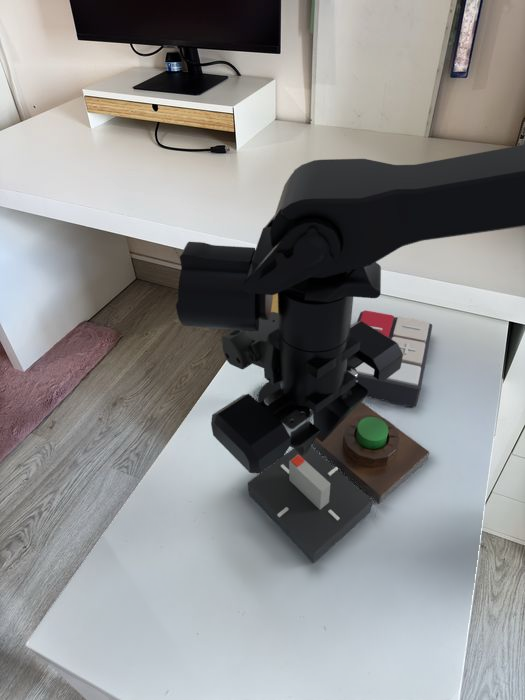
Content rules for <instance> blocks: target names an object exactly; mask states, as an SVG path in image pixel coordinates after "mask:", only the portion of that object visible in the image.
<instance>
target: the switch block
mask: <svg viewBox="0 0 525 700" xmlns="http://www.w3.org/2000/svg"><path fill="white" fill-rule="evenodd" d="M367 417H376V418H379V419H381V420H382V421H384V422H385V423H386V425H387V427H388V436H387V441H386V443H385V445H384V446H383V447H381V448H379V449H375V450H371V449H367V448H364V447H363V446H361V445H360V444H359V442H358V441H357V437H356V435H357V427H358V424H359V422H360V421H361V420H362V419H364V418H367ZM312 448H313V449H316V451H318V453H319V454H320V455H322V456H323V457H324V458H325V459H326V460H327V461H328V462H330V463H331V464H332V465H333V466H334V467H337V468H338V470H339V471H340V472H341V473H342V474H343V475H345V476H346V477H347V478H348V479H349V480H350V481H351V482H353V483H355V485H356V486H357V487H358V488H359V489H361V490H362V491H363V492H364V493H365V494H366V495H368V496H369V497H371V499H372V500H374V501H375V502H376V503H377V504H381V503H382V502H383V501H384V500H385V499H386V498H388V497H389V496H390V495H391V494H392V493H393V492H394V491H395V490H396V489H397V488H399V487H400V486H401V485H402V484H403V483H404V482H405V481H406V480H407V479H409V477H411V476H412V475H413V474H414V473H415V472H416V471H418V469H420V468H421V467H422V466H423V465H425V463H426V462H427V461H428V460H429V456H430V453H431V452H430V451H429V450H428V449H426V448H425V447H423V446H422V445H421V444H420V443H418V442H417V441H416V440H414V439H413V438H411V437H410V436H409V435H407V434H406V433H405V432H403V431H402V430H400V429H399V428H398V427H397V426H396V425H394V424H393V423H391V422H390V421H389V420H387V419H386V418H385V417H383V416H381V415H380V414H378V413H377V412H376V411H375V410H373V409H372V408H371V407H370V406H368V405H366V403H364V402H363V401H361V402H360V403H359V404H358V405H357V406H356V407H355V408H354V409H353V410H352V411H351V413H350V414H349V415H348V416H347V417H346V418H345V419H344V420H343V421H342V422H341V423H340V424H339V425H338V426H337V427H336V428H335V429H334V430H333V432H332V433H331V434H330V435H329V436H328V437H327V438H326V439H325V440H324V441H323V442H321V441H320V440H319V439H317V438H316V439H315V441H314V442H313V444H312Z"/></svg>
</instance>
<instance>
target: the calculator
mask: <svg viewBox="0 0 525 700" xmlns="http://www.w3.org/2000/svg"><path fill="white" fill-rule="evenodd" d="M360 321H362V322H364V323H366V324H367V325H369V326H371V327H372V328H374V329H375V330H377V331H379V332H380V333H382V334H384V335H385V336H387V337H388V338H390V339H392V340H393V341H395V342H397V343H398V345H399V347H400V348H401V350H402V353H403V358H402V363H401V368H400V369H399V370H398V371H396V372H395V373H394V374H392V375H391V376H390V377H388V378H387V379H386V380H384V381H383V382H382V381H380V380H378V379H376V378H375V377H373V376H374V369H373V368H371V367H370V366H369V365H367V364H366V363H362V364H361V365H359V366H358V367H357V368H355V369H356V370H357V372H358V377H357V378H358V383H360V384H361V385H362V386H364V387H365V388H366V389H367V390H368V395H367V397H368V398H371V399H372V398H373V399H376V400H381V401H385V402H391V403H394V404H399V405H403V406H407V407H412V408H415V407H417V405H418V401H419V398H420V393H421V391H422V390H421V389H422V385H423V379H424V373H425V368H426V362H427V357H428V352H429V347H430V342H431V336H432V330H433V324H432V323H430V322H429V321H426V320H422V319H421V320H420V319H415V318H411V317H410V318H409V317H404V316H398V317H397V316H394V315H392V314H387V313H382V312H376V311H371V310H362V311H360V313H359V316H358V317H357V321H356V323H357V322H360Z"/></svg>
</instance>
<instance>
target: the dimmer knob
mask: <svg viewBox="0 0 525 700" xmlns="http://www.w3.org/2000/svg"><path fill="white" fill-rule="evenodd" d="M289 480H290V481H291V482H292V483H293V484H294V485H295V486H296V487H297V488H298V489H299V490H300V491H301V492H302V493H303V494H304V495H305V496H306V497H307V498H308V499H309V500H310V501H311V502H312V503H313V504H314V505H316V506H317V507H318V508H319V509H320V510H321V509H322V508H323V507H324V506H325V505H326V504H328V503H329V495H330V483H329V482H328V481H327V480H326V479H325V478H324V477H323V476H322V475H321V474H319V473H318V472H317V471H316V470H315V469H314V468H313V467H312V466H311V465H309V464H308V463H307V462H306V461H305V460H304V459H303V458H302V457H301V456H299V455H297V456H295V457H294V458H293V459H291V460H290V461H289Z"/></svg>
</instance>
